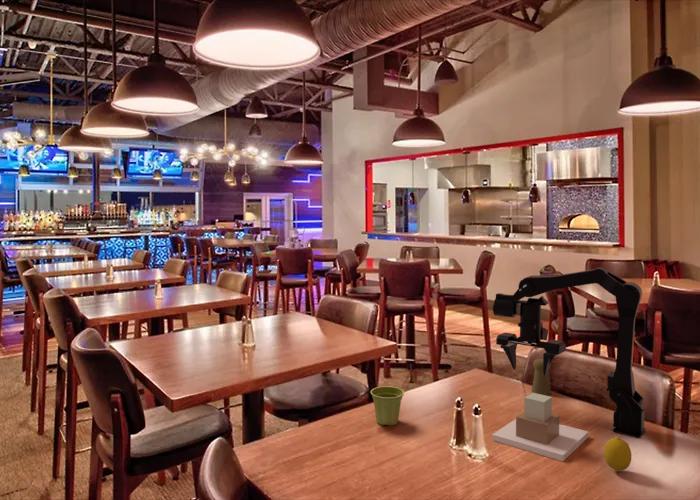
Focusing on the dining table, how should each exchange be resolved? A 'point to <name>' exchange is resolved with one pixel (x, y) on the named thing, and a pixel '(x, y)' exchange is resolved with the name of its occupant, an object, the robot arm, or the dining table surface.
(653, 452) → the dining table surface
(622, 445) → the lemon
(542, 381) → the cork
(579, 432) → the build board
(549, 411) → the sage block
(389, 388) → the plant pot
